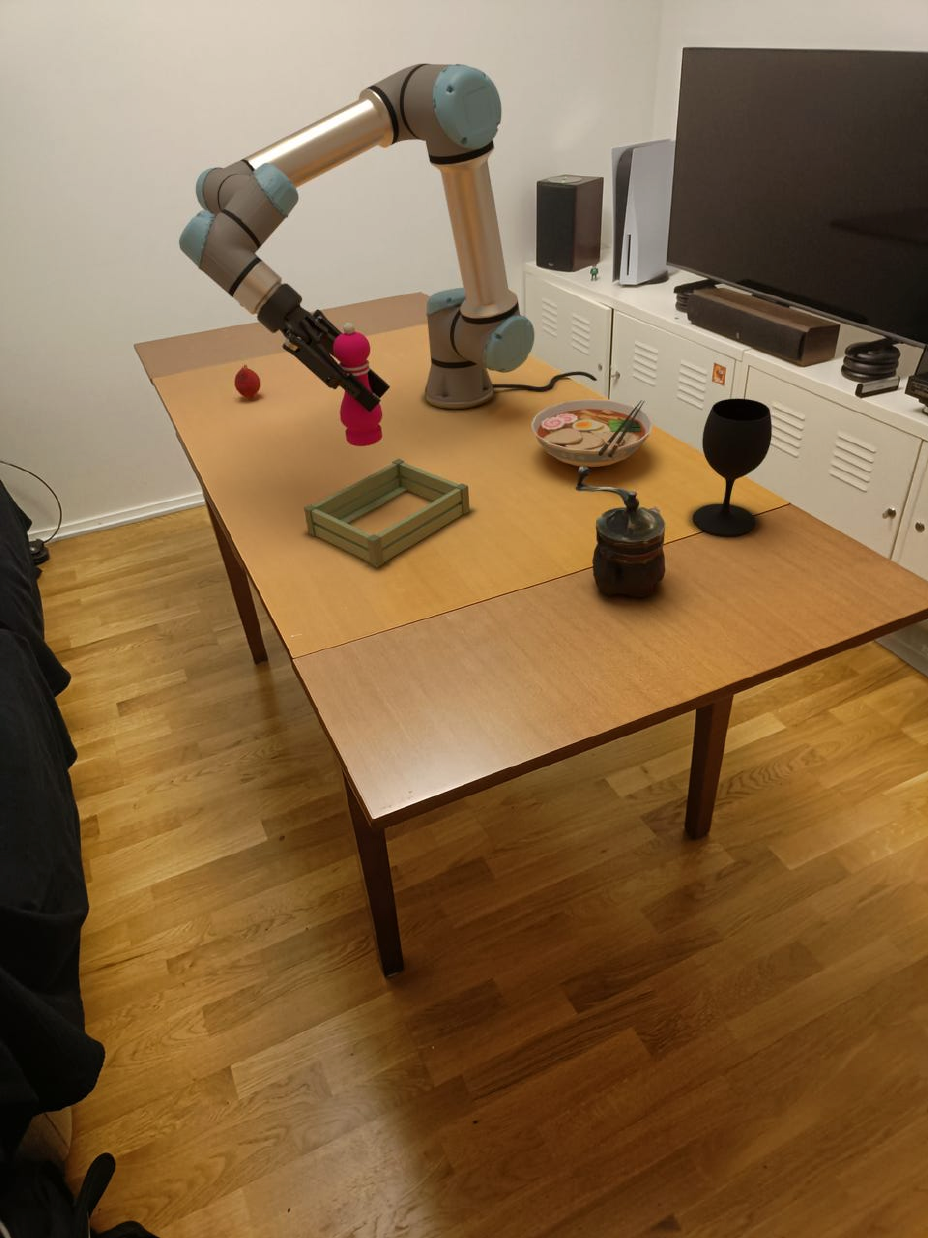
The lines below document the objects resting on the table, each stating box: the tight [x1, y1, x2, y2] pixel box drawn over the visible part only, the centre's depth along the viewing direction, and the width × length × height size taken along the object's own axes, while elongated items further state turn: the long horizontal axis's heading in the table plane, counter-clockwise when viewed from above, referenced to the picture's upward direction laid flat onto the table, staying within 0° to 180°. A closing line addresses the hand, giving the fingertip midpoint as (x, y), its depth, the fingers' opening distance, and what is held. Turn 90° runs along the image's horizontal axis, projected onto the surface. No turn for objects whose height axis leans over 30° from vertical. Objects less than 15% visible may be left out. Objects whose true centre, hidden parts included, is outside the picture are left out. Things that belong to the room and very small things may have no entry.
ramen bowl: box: [530, 398, 653, 468], centre depth 161 cm, size 25×23×8 cm
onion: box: [233, 363, 261, 399], centre depth 195 cm, size 6×6×8 cm
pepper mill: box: [333, 322, 383, 447], centre depth 141 cm, size 7×7×20 cm
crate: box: [303, 458, 471, 569], centre depth 147 cm, size 23×18×5 cm
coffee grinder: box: [574, 466, 666, 599], centre depth 125 cm, size 13×15×18 cm
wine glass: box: [692, 398, 773, 538], centre depth 137 cm, size 10×10×20 cm
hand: (380, 399), depth 142 cm, fingers closed on pepper mill, 5 cm apart
